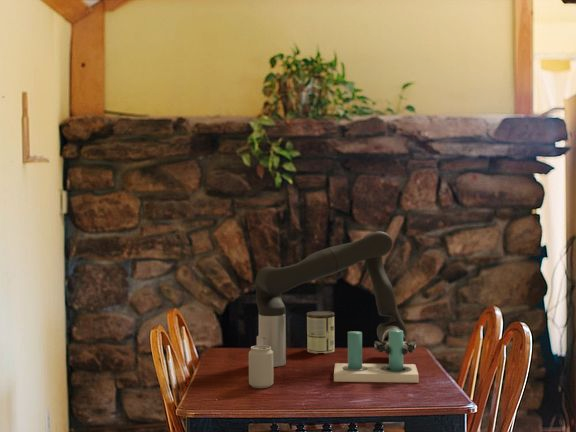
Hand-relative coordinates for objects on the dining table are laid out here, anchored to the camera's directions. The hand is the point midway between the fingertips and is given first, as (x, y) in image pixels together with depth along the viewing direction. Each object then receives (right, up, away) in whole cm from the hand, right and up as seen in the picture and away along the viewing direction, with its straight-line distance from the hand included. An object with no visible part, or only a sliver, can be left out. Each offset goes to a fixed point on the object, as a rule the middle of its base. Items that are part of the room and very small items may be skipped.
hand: (396, 351), depth 241 cm
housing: (-6, -9, +3) cm, 11 cm away
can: (-42, -9, -7) cm, 44 cm away
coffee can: (-22, -8, +44) cm, 49 cm away
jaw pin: (0, -8, +3) cm, 8 cm away
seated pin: (-13, -9, +4) cm, 16 cm away
